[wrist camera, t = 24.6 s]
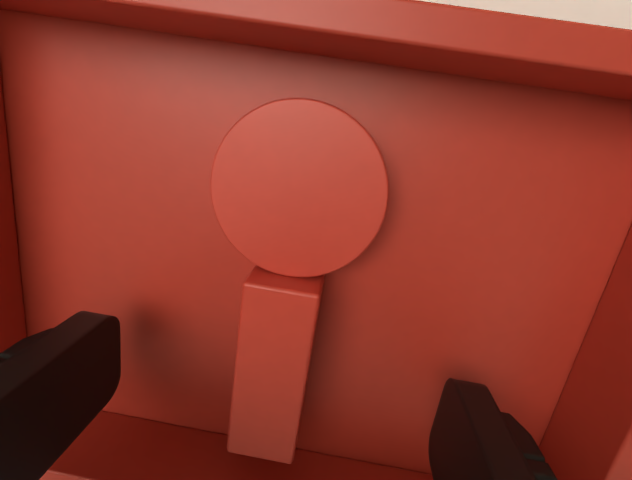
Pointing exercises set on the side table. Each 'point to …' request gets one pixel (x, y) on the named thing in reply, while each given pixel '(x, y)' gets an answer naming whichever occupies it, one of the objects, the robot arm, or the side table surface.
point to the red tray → (361, 274)
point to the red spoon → (289, 249)
